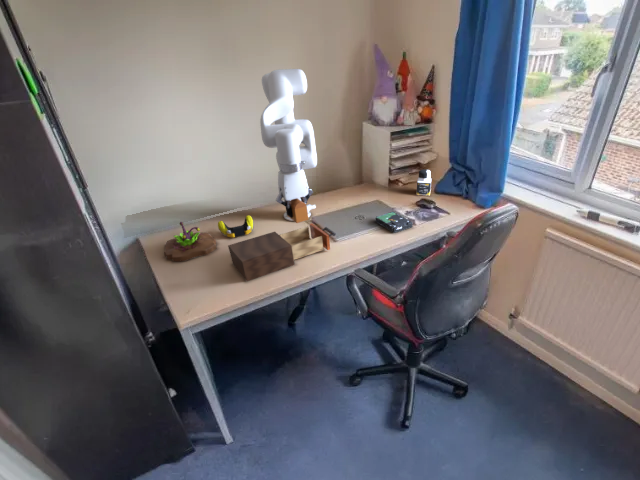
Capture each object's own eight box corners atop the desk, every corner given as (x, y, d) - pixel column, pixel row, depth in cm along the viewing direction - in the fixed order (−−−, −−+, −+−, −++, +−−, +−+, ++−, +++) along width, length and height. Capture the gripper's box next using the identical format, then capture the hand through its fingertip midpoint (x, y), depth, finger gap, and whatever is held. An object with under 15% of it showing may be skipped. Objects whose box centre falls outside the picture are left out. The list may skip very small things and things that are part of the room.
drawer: (323, 233, 163) (322, 220, 159) (340, 245, 154) (339, 231, 150) (275, 249, 153) (272, 235, 149) (290, 263, 143) (287, 248, 140)
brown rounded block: (298, 212, 149) (296, 194, 145) (308, 219, 144) (306, 200, 140) (287, 215, 147) (284, 197, 143) (296, 223, 142) (294, 204, 137)
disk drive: (412, 228, 169) (392, 216, 179) (413, 222, 167) (393, 210, 177) (394, 234, 164) (374, 221, 174) (394, 228, 162) (374, 216, 172)
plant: (209, 233, 168) (202, 209, 162) (221, 251, 154) (214, 225, 148) (160, 245, 159) (151, 221, 153) (168, 265, 146) (159, 239, 139)
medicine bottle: (416, 195, 200) (417, 172, 193) (417, 190, 206) (418, 168, 199) (429, 195, 199) (431, 172, 192) (430, 190, 205) (432, 168, 198)
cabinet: (278, 249, 154) (274, 231, 149) (294, 264, 144) (291, 245, 139) (232, 264, 145) (227, 245, 141) (246, 281, 135) (242, 261, 131)
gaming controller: (219, 231, 169) (222, 241, 162) (216, 220, 166) (219, 229, 159) (253, 224, 174) (257, 233, 167) (250, 213, 171) (255, 221, 164)
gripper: (307, 159, 141) (312, 205, 151) (263, 169, 133) (272, 217, 143) (317, 164, 136) (321, 212, 146) (272, 174, 128) (281, 224, 138)
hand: (297, 214), depth 145 cm, fingers closed on brown rounded block, 5 cm apart
